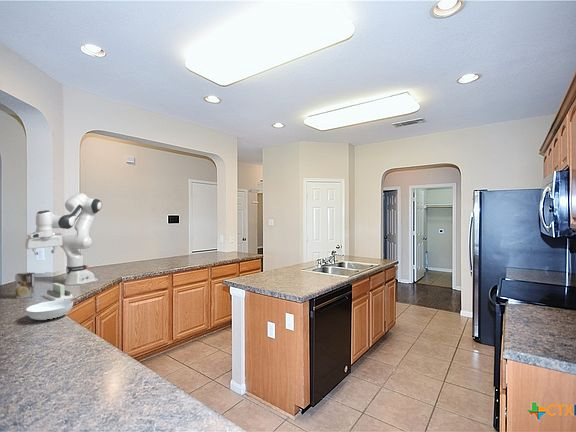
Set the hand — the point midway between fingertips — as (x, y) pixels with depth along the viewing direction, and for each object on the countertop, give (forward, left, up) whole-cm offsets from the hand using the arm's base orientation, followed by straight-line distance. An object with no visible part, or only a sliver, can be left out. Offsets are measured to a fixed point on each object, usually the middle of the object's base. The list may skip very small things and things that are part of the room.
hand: (44, 253), depth 203 cm
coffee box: (+8, -9, -30) cm, 32 cm away
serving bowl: (+14, +49, -30) cm, 59 cm away
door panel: (-4, +11, -28) cm, 30 cm away
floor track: (-4, +11, -30) cm, 32 cm away
